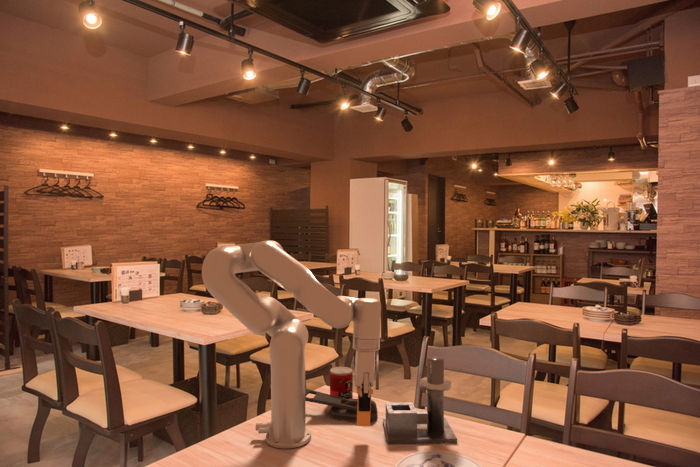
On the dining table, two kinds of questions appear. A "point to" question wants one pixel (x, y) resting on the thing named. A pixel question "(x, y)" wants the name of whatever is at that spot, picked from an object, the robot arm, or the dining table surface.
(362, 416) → the orange tapered block
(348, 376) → the canned food
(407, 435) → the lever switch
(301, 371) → the robot arm
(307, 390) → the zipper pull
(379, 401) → the dining table surface
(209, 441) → the dining table surface
